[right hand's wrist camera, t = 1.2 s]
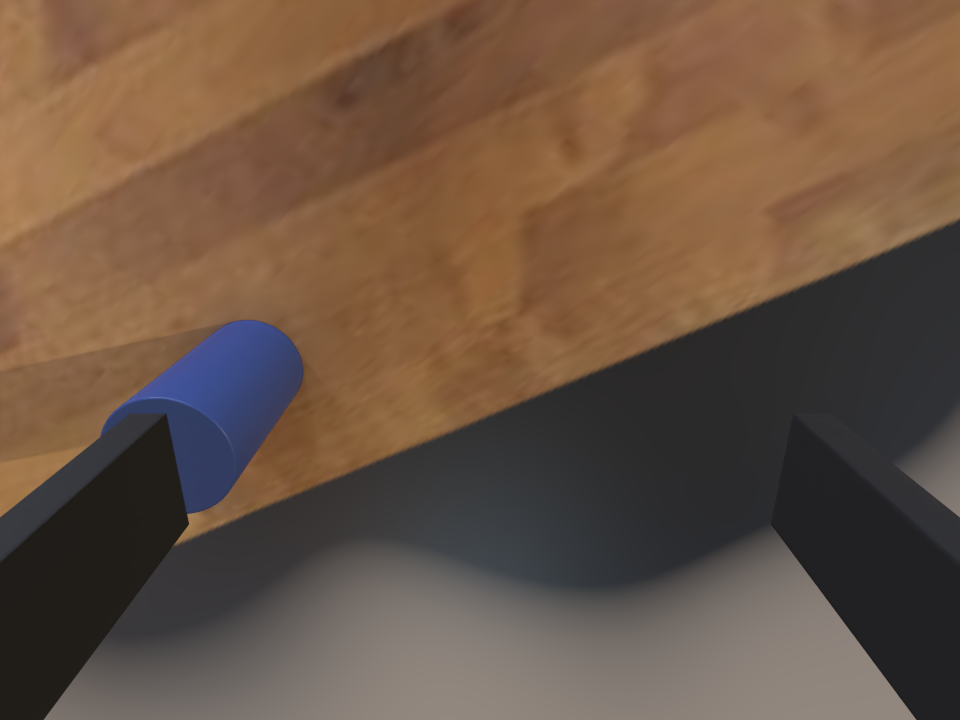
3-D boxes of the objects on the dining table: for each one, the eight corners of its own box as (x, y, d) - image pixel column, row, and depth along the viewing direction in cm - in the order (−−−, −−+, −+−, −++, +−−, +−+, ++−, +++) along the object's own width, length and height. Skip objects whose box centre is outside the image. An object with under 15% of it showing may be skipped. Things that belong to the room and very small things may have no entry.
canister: (294, 420, 37) (226, 528, 27) (199, 396, 36) (94, 497, 26) (311, 335, 35) (245, 417, 25) (211, 307, 34) (103, 381, 24)
